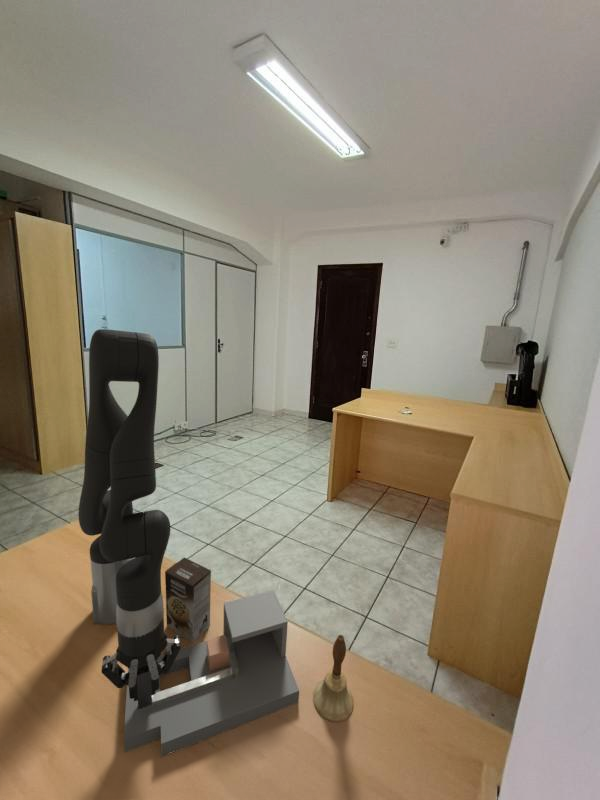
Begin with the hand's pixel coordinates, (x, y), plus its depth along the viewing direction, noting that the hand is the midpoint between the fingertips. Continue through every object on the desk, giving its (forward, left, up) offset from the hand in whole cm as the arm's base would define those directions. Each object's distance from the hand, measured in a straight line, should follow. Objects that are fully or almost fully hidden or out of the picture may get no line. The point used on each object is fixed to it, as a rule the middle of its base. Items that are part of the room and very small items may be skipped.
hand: (144, 692), depth 66 cm
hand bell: (+36, -10, -6) cm, 37 cm away
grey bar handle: (+8, +3, -3) cm, 9 cm away
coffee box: (+10, +18, -6) cm, 22 cm away
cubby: (+13, +1, -6) cm, 14 cm away
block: (+14, +4, -3) cm, 15 cm away
